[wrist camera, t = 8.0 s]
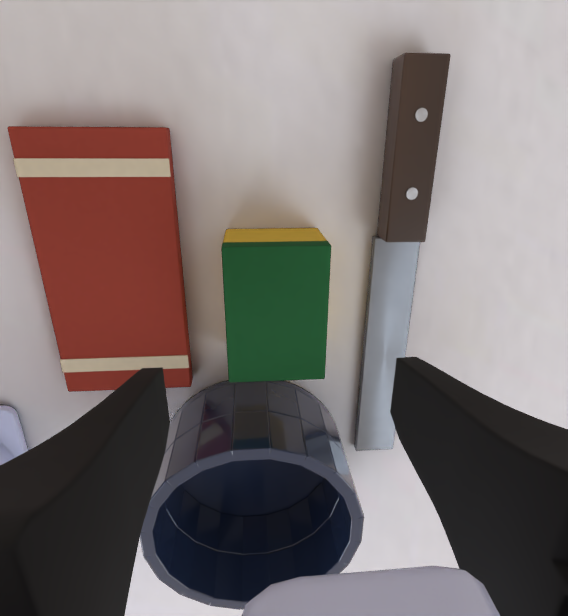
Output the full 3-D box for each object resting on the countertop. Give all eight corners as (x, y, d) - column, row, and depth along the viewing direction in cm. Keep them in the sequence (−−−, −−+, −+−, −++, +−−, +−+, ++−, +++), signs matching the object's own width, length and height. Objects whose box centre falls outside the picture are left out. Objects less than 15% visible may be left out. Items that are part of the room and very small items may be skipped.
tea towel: (74, 383, 21) (67, 392, 20) (17, 126, 16) (5, 126, 16) (193, 378, 21) (190, 387, 21) (169, 127, 17) (165, 127, 16)
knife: (354, 446, 24) (360, 464, 23) (387, 58, 17) (400, 51, 15) (391, 444, 24) (399, 462, 23) (440, 59, 17) (457, 52, 15)
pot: (172, 520, 25) (153, 617, 20) (153, 380, 21) (124, 455, 16) (334, 510, 26) (355, 600, 21) (344, 373, 22) (372, 443, 17)
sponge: (231, 346, 21) (228, 382, 18) (225, 228, 19) (221, 247, 16) (313, 343, 21) (324, 379, 18) (317, 227, 19) (331, 245, 16)
